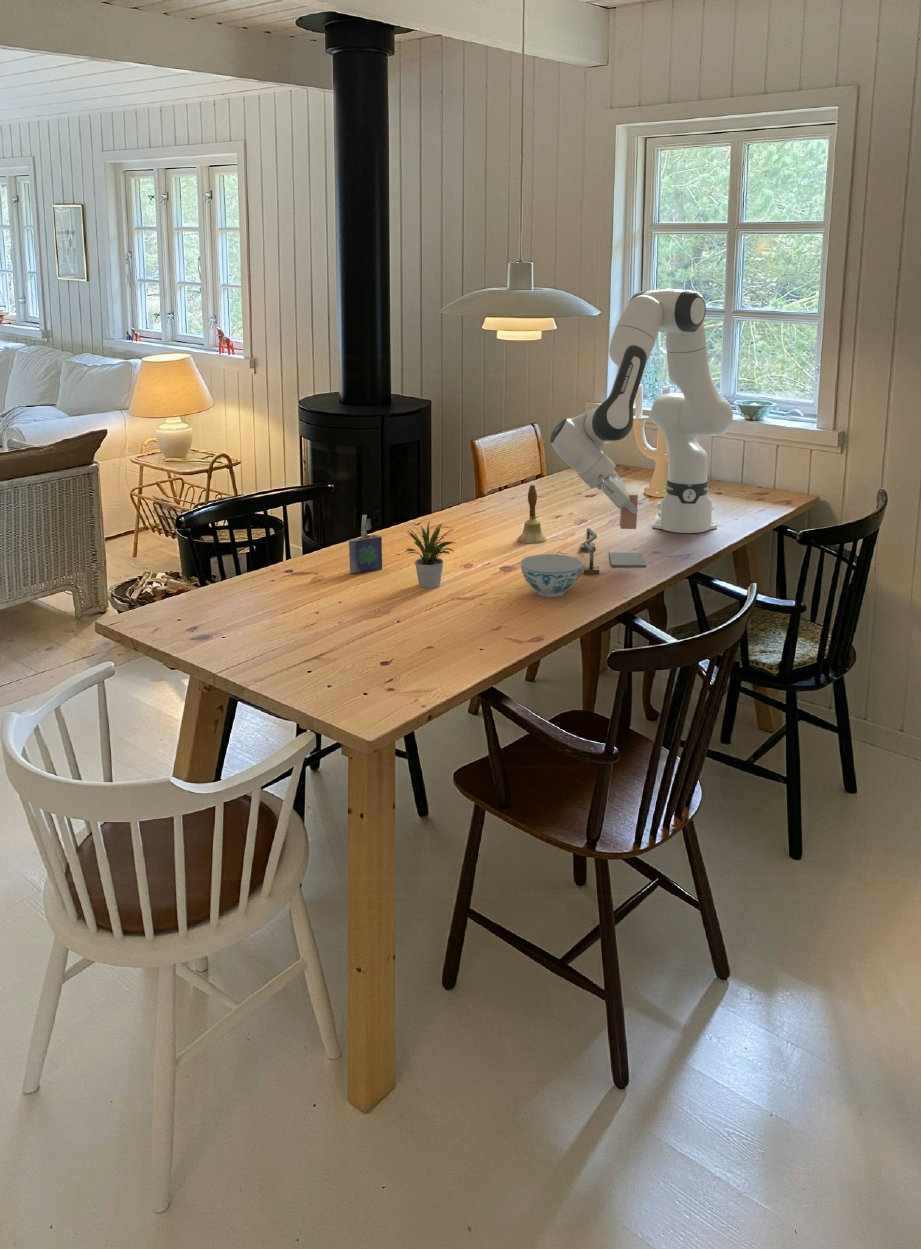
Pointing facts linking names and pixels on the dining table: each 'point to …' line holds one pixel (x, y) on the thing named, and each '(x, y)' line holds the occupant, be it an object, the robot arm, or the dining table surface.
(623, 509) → the brick block
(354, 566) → the flask
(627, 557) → the slate tile
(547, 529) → the dining table surface
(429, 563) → the house plant
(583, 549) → the zigzag wire
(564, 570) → the chinaware
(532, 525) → the hand bell
